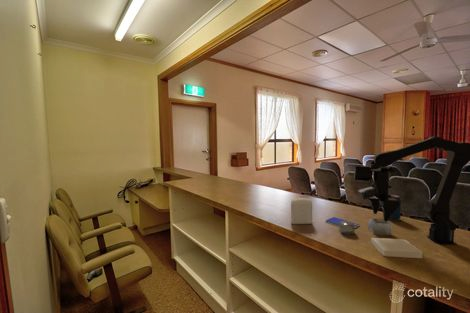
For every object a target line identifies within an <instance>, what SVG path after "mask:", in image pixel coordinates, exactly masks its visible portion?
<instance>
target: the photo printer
mask: <svg viewBox="0 0 470 313" xmlns="http://www.w3.org/2000/svg"><path fill="white" fill-rule="evenodd" d="M290 222H291V223H290V224H293V225H309V224H313V202H312V199H310V198H305V197H299V198H295V199H291V202H290Z"/></svg>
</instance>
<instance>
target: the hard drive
mask: <svg viewBox="0 0 470 313" xmlns="http://www.w3.org/2000/svg"><path fill="white" fill-rule="evenodd" d="M341 221H348V222H352V221H349V220H345V219H342V218H339V217H335V216H333V217H330V218H328V219H325V221H324V222H325V223H327V224H330V225H332V226H336V227H339V223H340V222H341ZM352 223H354V224H355V229H356V228H358V227H359V226H360V223H356V222H354V221H353V222H352Z"/></svg>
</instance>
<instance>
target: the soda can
mask: <svg viewBox="0 0 470 313" xmlns="http://www.w3.org/2000/svg"><path fill="white" fill-rule="evenodd" d="M389 194H390V195H391V198H394V199H396V200H398V201H399V202H400V203H401V204H400V208H398V209H396V210H395V211H394V213H393V214H392V215H391V217H390V218H389V220H388V221H394V222H396V221H400V219H401V218H402V217H401V216H402V215H401V214H402V213H401V210H402V199H401V196H400V195H398V194H394V193H389Z"/></svg>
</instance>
